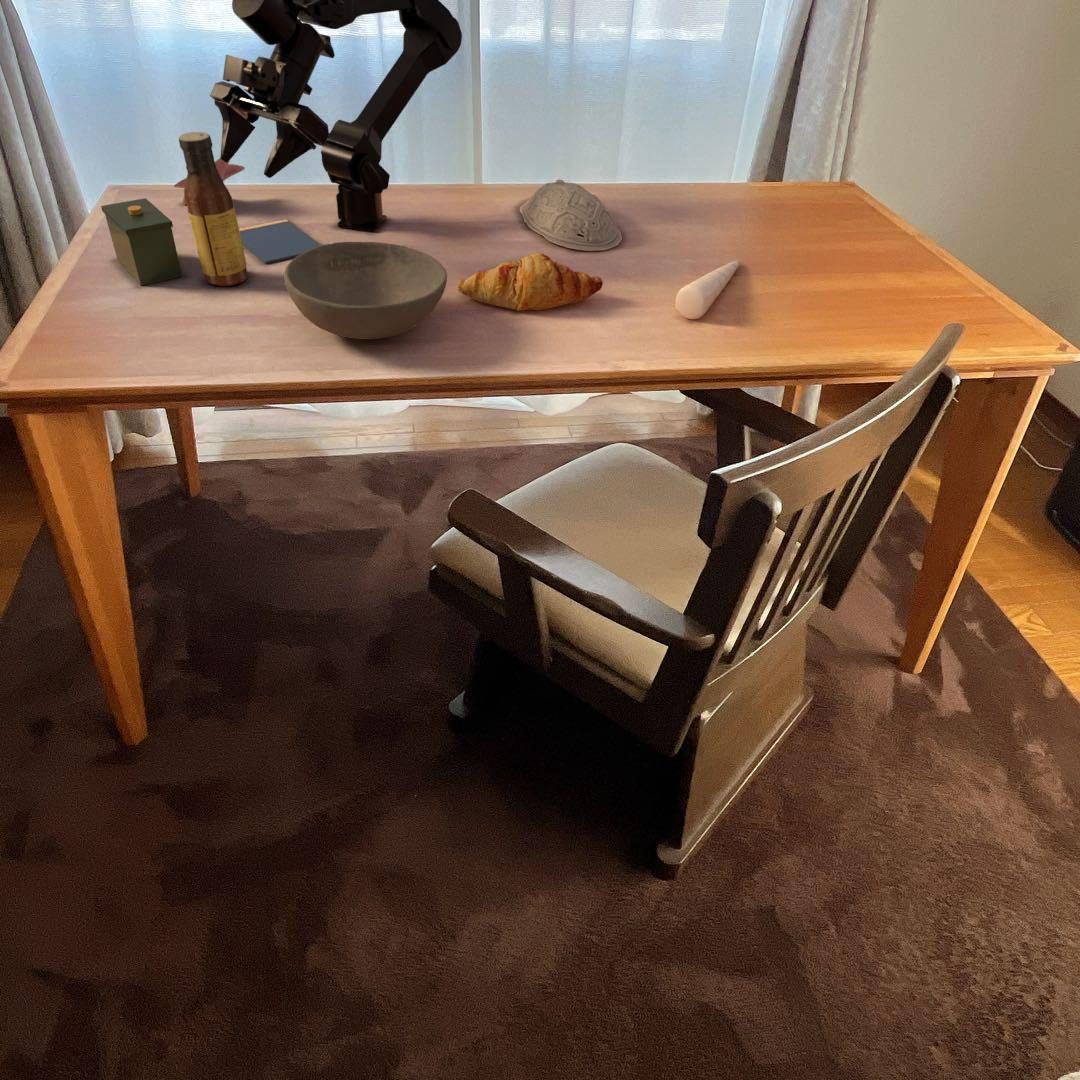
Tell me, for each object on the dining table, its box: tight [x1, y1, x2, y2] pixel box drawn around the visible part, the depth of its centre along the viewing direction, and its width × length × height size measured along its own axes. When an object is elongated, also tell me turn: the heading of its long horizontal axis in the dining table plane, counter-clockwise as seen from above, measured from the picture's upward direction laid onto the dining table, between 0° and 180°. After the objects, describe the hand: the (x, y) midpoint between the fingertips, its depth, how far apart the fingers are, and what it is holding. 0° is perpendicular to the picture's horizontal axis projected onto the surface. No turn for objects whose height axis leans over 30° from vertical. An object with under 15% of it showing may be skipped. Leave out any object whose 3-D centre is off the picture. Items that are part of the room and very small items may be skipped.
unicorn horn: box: [674, 259, 740, 320], centre depth 132 cm, size 5×24×5 cm, turn 149°
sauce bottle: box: [178, 131, 248, 287], centre depth 121 cm, size 6×6×20 cm
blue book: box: [239, 218, 321, 265], centre depth 139 cm, size 10×14×1 cm
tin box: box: [100, 198, 183, 286], centre depth 126 cm, size 6×10×9 cm, turn 38°
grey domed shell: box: [519, 178, 623, 252], centre depth 150 cm, size 16×25×7 cm, turn 19°
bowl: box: [283, 241, 448, 340], centre depth 117 cm, size 21×21×8 cm
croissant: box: [456, 252, 604, 311], centre depth 126 cm, size 21×10×8 cm, turn 97°
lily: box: [173, 157, 246, 205], centre depth 146 cm, size 12×12×10 cm
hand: (244, 168), depth 124 cm, fingers open, 9 cm apart
